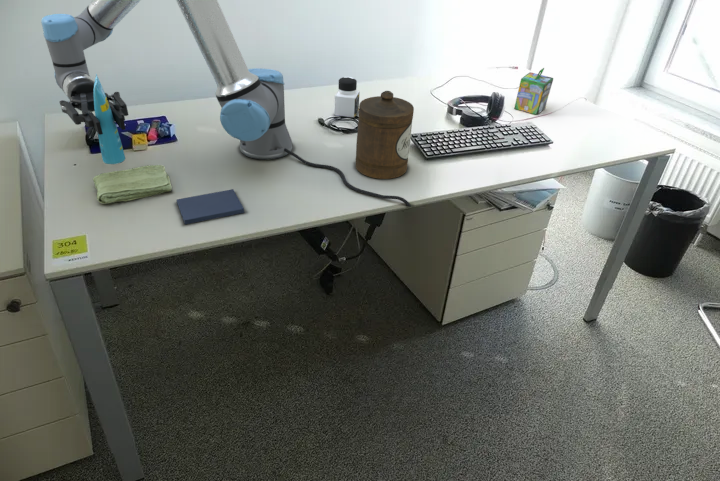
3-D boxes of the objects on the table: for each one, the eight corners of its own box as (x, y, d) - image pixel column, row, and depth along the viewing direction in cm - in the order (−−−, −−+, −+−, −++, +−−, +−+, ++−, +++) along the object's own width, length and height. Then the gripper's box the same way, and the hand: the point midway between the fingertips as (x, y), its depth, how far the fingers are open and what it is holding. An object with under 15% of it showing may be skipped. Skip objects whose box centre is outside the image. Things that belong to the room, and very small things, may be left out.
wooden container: (411, 179, 143) (420, 102, 130) (357, 179, 141) (361, 101, 129) (403, 155, 155) (410, 82, 142) (353, 154, 153) (356, 81, 141)
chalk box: (522, 102, 196) (531, 62, 187) (545, 108, 192) (556, 68, 183) (512, 109, 190) (522, 68, 181) (537, 115, 186) (547, 74, 177)
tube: (127, 165, 120) (108, 83, 109) (104, 168, 118) (83, 85, 107) (123, 151, 126) (105, 72, 115) (101, 155, 124) (81, 74, 113)
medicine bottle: (354, 118, 176) (356, 83, 169) (334, 115, 177) (334, 80, 170) (358, 110, 182) (360, 76, 175) (339, 108, 183) (339, 74, 176)
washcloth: (175, 193, 131) (173, 181, 129) (99, 208, 124) (96, 196, 122) (164, 170, 141) (162, 159, 139) (93, 183, 133) (90, 172, 132)
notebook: (233, 193, 133) (233, 188, 132) (244, 212, 125) (243, 208, 125) (177, 203, 127) (176, 199, 127) (184, 224, 120) (184, 220, 120)
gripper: (123, 101, 134) (154, 134, 119) (50, 114, 125) (73, 151, 110) (116, 72, 130) (147, 102, 115) (40, 83, 121) (63, 117, 106)
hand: (111, 126), depth 113 cm, fingers closed on tube, 4 cm apart
